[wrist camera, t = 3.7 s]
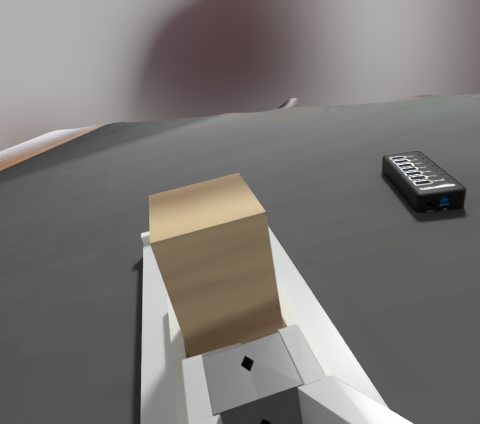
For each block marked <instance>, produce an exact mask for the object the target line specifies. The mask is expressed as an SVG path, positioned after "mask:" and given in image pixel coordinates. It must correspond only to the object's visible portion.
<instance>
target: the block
mask: <svg viewBox="0 0 480 424" xmlns="http://www.w3.org/2000/svg"><path fill="white" fill-rule="evenodd" d="M149 222H150V245H151V248H152V251H153V254H154V257H155V259H156V262H157V265H158V268H159V270H160V273H161V276H162V279H163V282H164V284H165V287H166V290H167V293H168V296H169V298H170V301H171V304H172V307H173V310H174V312H175V315H176V318H177V321H178V324H179V326H180V329H181V332H182V335H183V338H184V340H185V343H186V346H187V349H188V352H189V354H190V357H193V356H197V355H200V354H203V353H206V352H210V351H213V350H217V349H220V348H224V347H227V346H230V345H234V344H237V343H240V342H242V341H245V340H248V339H251V338H254V337H257V336H260V335H263V334H266V333H269V332H272V331H275V330H279V329H282V328H284V327H283V321H282V314H281V308H280V301H279V295H278V288H277V282H276V275H275V269H274V262H273V256H272V249H271V243H270V236H269V230H268V223H267V217H266V211H265V210H264V209H263V207H262V206H261V204H260V203H259V201H258V200H257V199H256V197H255V196H254V194H253V193H252V191H251V190H250V189H249V187H248V186H247V184H246V183H245V181H244V180H243V179H242V177H241V176H240V174H239V173H236V174H232V175H228V176H224V177H220V178H216V179H213V180H209V181H205V182H201V183H197V184H193V185H189V186H185V187H181V188H177V189H173V190H169V191H165V192H162V193H158V194H154V195H150V196H149Z"/></svg>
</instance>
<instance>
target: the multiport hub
mask: <svg viewBox="0 0 480 424" xmlns="http://www.w3.org/2000/svg"><path fill="white" fill-rule="evenodd" d="M382 172H383V173H384V174H385V175H386V177H387V178H388V179H389V180H390V181H391V183H392V184H393V185H394V186H395V188H396V189H397V190H398V191H399V192H400V194H401V195H402V196H403V197H404V198H405V200H406V201H407V202H408V203H409V204H410V206H411V207H412V208H413V209H414V210H415V212H418V213H425V212H433V211H442V210H450V209H458V208H463V207H464V201H465V194H466V188H465V187H464V186H463V185H462V184H460V183H459V182H458V181H457V180H455V179H454V178H453V177H452V176H450V175H449V174H448V173H447V172H445V171H444V170H443V169H442V168H440V167H439V166H438V165H437V164H435V163H434V162H433V161H432V160H430V159H429V158H428V157H427V156H425V155H424V154H423V153H422V152H420V151H414V152H407V153H400V154H393V155H386V156H383V161H382Z"/></svg>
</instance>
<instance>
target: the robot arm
mask: <svg viewBox="0 0 480 424" xmlns="http://www.w3.org/2000/svg"><path fill="white" fill-rule="evenodd" d="M181 367H182V377H183V386H184V395H185V405H186V414H187V424H413V423H411V422H409V421H408V420H406V419H404V418H403V417H401V416H399V415H398V414H396V413H394V412H393V411H391V410H389V409H388V408H386V407H384V406H383V405H381V404H379V403H378V402H376V401H374V400H373V399H371V398H369V397H368V396H366V395H364V394H363V393H361V392H359V391H358V390H356V389H354V388H353V387H351V386H349V385H348V384H346V383H344V382H343V381H341V380H340V379H338V378H336V377H335V376H333V375H332V376H328V377H326V375H325V373H324V372H323V370H322V368H321V366H320V364H319V362H318V361H317V359H316V357H315V355H314V353H313V352H312V350H311V348H310V346H309V344H308V342H307V341H306V339H305V337H304V335H303V333H302V331H301V330H300V328H299V326H297V325H296V324H295V325H292V326H289V327H285V328H282V329H279V330H275V331H272V332H269V333H266V334H263V335H260V336H257V337H254V338H251V339H248V340H245V341H242V342H240V343H237V344H234V345H230V346H227V347H224V348H220V349H217V350H213V351H210V352H206V353H203V354H200V355H197V356H193V357H190V358H187V359H183V360H182V365H181Z"/></svg>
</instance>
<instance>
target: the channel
mask: <svg viewBox="0 0 480 424" xmlns="http://www.w3.org/2000/svg"><path fill="white" fill-rule="evenodd" d="M268 230H269V236H270V243H271V249H272V256H273V262H274V269H275V275H276V282H277V288H278V295H279V301H280V308H281V314H282V321H283V327H284V328H285V327H289V326H292V325H295V324H296V325H297V326H299V328H300V330H301V331H302V333H303V335H304V337H305V339H306V341H307V342H308V344H309V346H310V348H311V350H312V352H313V353H314V355H315V357H316V359H317V361H318V362H319V364H320V366H321V368H322V370H323V372H324V373H325V375H326V377H328V376H332V375H333V376H335V377H336V378H338V379H340V380H341V381H343V382H344V383H346V384H348V385H349V386H351V387H353V388H354V389H356V390H358V391H359V392H361V393H363V394H364V395H366V396H368V397H369V398H371V399H373V400H374V401H376V402H378V403H379V404H381V405H383V406H384V407H386V408H388V407H387V405H386V404H385V402H384V401H383V399H382V398H381V396H380V395H379V393H378V392H377V390H376V389H375V387H374V386H373V384H372V383H371V381H370V380H369V378H368V377H367V375H366V374H365V372H364V371H363V369H362V368H361V366H360V364H359V363H358V361H357V360H356V358H355V357H354V355H353V354H352V352H351V351H350V349H349V348H348V346H347V345H346V343H345V342H344V340H343V339H342V337H341V336H340V334H339V333H338V331H337V330H336V328H335V327H334V325H333V324H332V322H331V321H330V319H329V318H328V316H327V314H326V313H325V311H324V310H323V308H322V307H321V305H320V304H319V302H318V301H317V299H316V298H315V296H314V295H313V293H312V292H311V290H310V289H309V287H308V286H307V284H306V283H305V281H304V280H303V278H302V277H301V275H300V274H299V272H298V271H297V269H296V268H295V266H294V265H293V263H292V261H291V260H290V258H289V257H288V255H287V254H286V252H285V251H284V249H283V248H282V246H281V245H280V243H279V242H278V240H277V239H276V237H275V236H274V234H273V233H272V231H271V230H270V228H269V227H268ZM141 239H142V242H143V305H142V366H141V424H187V414H186V405H185V395H184V386H183V377H182V367H181V365H182V360H183V359H187V358H190V354H189V352H188V349H187V346H186V343H185V340H184V338H183V335H182V332H181V329H180V326H179V324H178V321H177V318H176V315H175V312H174V310H173V307H172V304H171V301H170V298H169V296H168V293H167V290H166V287H165V284H164V282H163V279H162V276H161V273H160V270H159V268H158V265H157V262H156V259H155V257H154V254H153V251H152V248H151V245H150V231H149V232H145V233H141ZM388 409H389V408H388Z"/></svg>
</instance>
